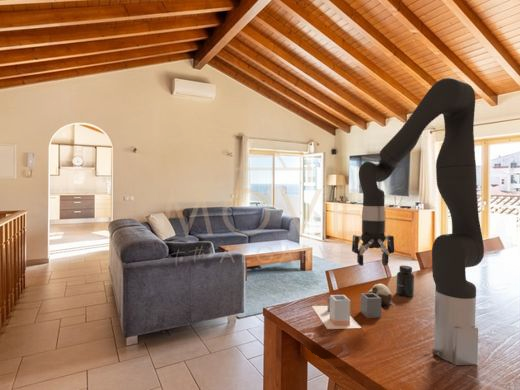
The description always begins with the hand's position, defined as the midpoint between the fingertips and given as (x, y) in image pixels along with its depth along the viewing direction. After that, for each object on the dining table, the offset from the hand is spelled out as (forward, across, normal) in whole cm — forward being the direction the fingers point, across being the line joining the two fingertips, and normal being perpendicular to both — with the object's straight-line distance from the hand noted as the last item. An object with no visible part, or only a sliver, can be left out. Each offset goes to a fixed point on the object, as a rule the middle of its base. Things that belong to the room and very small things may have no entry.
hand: (372, 265), depth 105 cm
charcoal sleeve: (+18, -1, -1) cm, 18 cm away
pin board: (+18, -14, -2) cm, 23 cm away
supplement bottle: (+18, +25, +22) cm, 38 cm away
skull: (+19, +9, +14) cm, 25 cm away
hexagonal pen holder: (+17, -14, -6) cm, 23 cm away
